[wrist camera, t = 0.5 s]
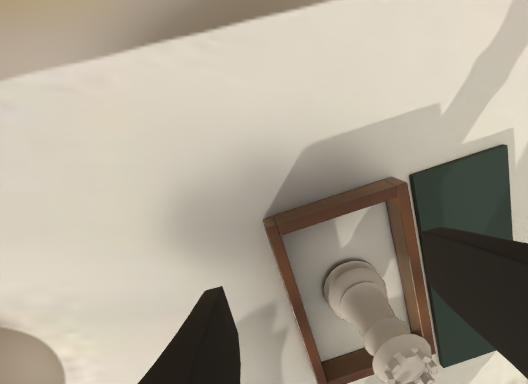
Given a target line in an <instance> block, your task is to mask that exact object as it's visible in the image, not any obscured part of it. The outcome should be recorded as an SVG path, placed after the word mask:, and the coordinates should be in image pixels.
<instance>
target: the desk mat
mask: <svg viewBox="0 0 528 384" xmlns="http://www.w3.org/2000/svg"><path fill="white" fill-rule="evenodd" d="M410 181H411V187H412V193H413V200H414V206H415V212H416V218H417V224H418V230H419V236H420V242H421V248H422V255H423V261H424V267H425V257H424V246H423V236H422V231H425V230H429V229H432V228H436V227H445V228H452V229H458V230H463V231H468V232H473V233H478V234H483V235H488V236H493V237H497V238H502V239H507V240H512V241H513V235H512V218H511V201H510V183H509V166H508V149H507V145H500V146H497V147H494V148H491V149H488V150H485V151H482V152H478V153H475V154H472V155H469V156H466V157H463V158H460V159H457V160H454V161H451V162H448V163H445V164H442V165H439V166H436V167H433V168H430V169H427V170H424V171H421V172H418V173H415V174H412V175H410ZM425 273H426V268H425ZM426 279H427V278H426ZM427 285H428V291H429V297H430V304H431V310H432V316H433V322H434V328H435V334H436V340H437V346H438V352H439V359H440V364H441V366H442V367H443V368H445V367H448V366H451V365H454V364H457V363H460V362H463V361H466V360H469V359H472V358H475V357H478V356H481V355H484V354H487V353H490V352H493V351H496V349H495V348H494V347H493V346H492V345H491V344H489V343H488V342H487V341H486V340H485V339H484V338H483V337H482V336H481V335H479V334H478V333H477V332H476V331H475V330H474V329H473V328H472V327H471V326H469V325H468V324H467V323H466V322H465V321H464V320H463V319H462V318H461V317H460V316H459V315H457V314H456V313H455V312H454V311H453V310H452V309H451V308H450V307H449V306H448V305H447V304H446V303H445V302H444V301H443V300H442V298H441V297H440V296H439V295H438V294H437V293H436V292H435V290H434V289H433V288H432V287H431V286H430V284H429V283H428V282H427Z"/></svg>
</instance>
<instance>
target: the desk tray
mask: <svg viewBox="0 0 528 384" xmlns="http://www.w3.org/2000/svg"><path fill="white" fill-rule="evenodd" d="M384 201H386V202H387V207H388V213H389V218H390V223H391V228H392V233H393V238H394V244H395V249H396V254H397V259H398V264H399V269H400V275H401V280H402V285H403V290H404V295H405V300H406V306H407V311H408V316H409V321H410V326H411V332H412V333H410V334H415V335H418V336H420V337H422V338H424V339H425V340H426V341H427V342H428V344H429V345H430V347H431V355H433V354H435V353H436V352H435V346H434V340H433V334H432V328H431V322H430V317H429V311H428V305H427V299H426V293H425V287H424V281H423V275H422V269H421V263H420V257H419V251H418V245H417V239H416V233H415V227H414V221H413V215H412V209H411V203H410V197H409V191H408V185H407V182H405V181H402V180H399V179H397V178H394V177H390V178H387V179H384V180H381V181H378V182H374V183H371V184H368V185H365V186H362V187H359V188H356V189H353V190H350V191H347V192H344V193H341V194H338V195H335V196H332V197H329V198H326V199H323V200H320V201H317V202H314V203H311V204H308V205H305V206H301V207H298V208H295V209H292V210H289V211H286V212H283V213H280V214H277V215H274V216H272V217H269V218H266V219H263V222H264V226H265V230H266V233H267V236H268V239H269V242H270V245H271V248H272V251H273V254H274V257H275V259H276V262H277V265H278V268H279V271H280V274H281V277H282V280H283V283H284V286H285V289H286V292H287V295H288V298H289V301H290V304H291V307H292V310H293V313H294V316H295V319H296V322H297V325H298V328H299V331H300V334H301V337H302V340H303V343H304V346H305V349H306V352H307V355H308V358H309V361H310V364H311V367H312V370H313V373H314V376H315V379H316V381H317V384H347V383H350V382H353V381H356V380H359V379H362V378H365V377H368V376H371V375H374V370H373V365H372V363H373V358H374V356H373V355H370V354H369V353H368V351H367V350H366V349H365V348H364V349H361V350H358V351H355V352H352V353H349V354H346V355H344V356H341V357H338V358H335V359H332V360H329V361H326V362H323V363H321V360H320V357H319V354H318V351H317V348H316V345H315V341H314V338H313V335H312V332H311V329H310V326H309V323H308V320H307V317H306V313H305V310H304V307H303V304H302V301H301V298H300V295H299V292H298V289H297V285H296V282H295V279H294V276H293V273H292V270H291V267H290V264H289V261H288V257H287V254H286V251H285V248H284V245H283V242H282V239H281V236H280V235H284V234H287V233H290V232H293V231H296V230H299V229H302V228H305V227H308V226H311V225H314V224H317V223H320V222H323V221H327V220H330V219H333V218H336V217H339V216H342V215H345V214H348V213H351V212H354V211H357V210H360V209H363V208H366V207H369V206H372V205H375V204H378V203H381V202H384Z"/></svg>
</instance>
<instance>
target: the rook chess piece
mask: <svg viewBox="0 0 528 384" xmlns="http://www.w3.org/2000/svg"><path fill="white" fill-rule="evenodd" d="M323 291H324V295H325V299H326V301H327V302H328V303H329V305H330V307H331V309H332V310H333V311H334V312H335V314H336V315H337V316H338V317H340V318H342V319H344V320H346V321H347V322H349V323H351V324H353V325H354V326H355V327H356V329H357V330H358V331H359V332H360V334H361V335H362V337H363V339H364V345H365V349H366V350H367V351H368V353H369V354H370V355H373V356H374V358H373V363H372V365H373V370H374V374H375V375H376V376H377V377H378V378H379V379H380V380H381V381H383V382H386V383H388V384H417V383H418V382H420V381H423V383H424V384H432V383H433V382H434V379H433V378H432V377H431V375H430V374H429V370H430V372H431V373H432V374H433V373H437V365H436V364H435V363H434V361H433V360H432V355H431V347H430V345H429V344H428V342H427V341H426V340H425V339H424V338H422V337H420V336H418V335H415V334H410V328H409V326H408V325H407V324H406V322H405V321H403V320H401V319H399V318H397V317H396V315H395V314H394V312H393V310H392V309H391V307H390V305H389V303H388V298H387V290H386V285H385V282H384V280H383V279H382V278H381V276H380V275H379V273H378V272H377V271H376V269H375V268H374V267H373V266H372V265H370V264H368V263H366V262H363V261H350V262H347V263H343V264H340V265H339V266H338V267H336V268H335V269H333V270H332V272H331V273H330V275H329V276H328V278H327V279H326V281H325V286H324V290H323Z"/></svg>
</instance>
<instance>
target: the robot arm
mask: <svg viewBox="0 0 528 384" xmlns="http://www.w3.org/2000/svg"><path fill="white" fill-rule="evenodd" d="M422 236H423V246H424V257H425V268H426V278H427V282H428V283H429V284H430V286H431V287H432V288H433V289H434V290H435V292H436V293H437V294H438V295H439V296H440V297H441V298H442V300H443V301H444V302H445V303H446V304H447V305H448V306H449V307H450V308H451V309H452V310H453V311H454V312H455V313H456V314H457V315H459V316H460V317H461V318H462V319H463V320H464V321H465V322H466V323H467V324H468V325H469V326H471V327H472V328H473V329H474V330H475V331H476V332H477V333H478V334H479V335H481V336H482V337H483V338H484V339H485V340H486V341H487V342H488V343H489V344H491V345H492V346H493V347H494V348H495V349H496V350H497V351H498V352H499V353H500V354H502V355H503V356H504V357H505V358H506V359H507V360H508V361H509V362H510V363H512V364H513V365H514V366H515V367H516V368H517V369H518V370H519V371H520V372H521V373H522V374H523V375H524V376H525V377H526V378H527V379H528V244H527V243H522V242H517V241H512V240H507V239H502V238H497V237H493V236H488V235H483V234H478V233H473V232H468V231H463V230H458V229H452V228H445V227H436V228H432V229H429V230H425V231H422ZM240 368H241V362H240V349H239V337H238V332H237V329H236V326H235V323H234V320H233V317H232V314H231V311H230V308H229V305H228V302H227V299H226V296H225V293H224V290H223V287H222V286H221V287H217V288H213V289H210V290H206V291H205V292H204V293H203V294H202V296H201V297H200V299H199V300H198V302H197V304H196V305H195V307H194V308H193V310H192V311H191V313H190V314H189V316H188V317H187V319H186V320H185V322H184V323H183V325H182V326H181V328H180V329H179V331H178V332H177V334H176V335H175V336H174V338H173V339H172V341H171V342H170V343H169V345H168V346H167V347H166V349H165V350H164V351H163V353H162V354H161V355H160V357H159V358H158V359H157V361H156V362H155V363H154V365H153V366H152V367H151V368H150V370H149V371H148V372H147V373H146V374H145V376H144V377H143V378H142V379H141V380H140V382H139V383H138V384H240Z"/></svg>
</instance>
